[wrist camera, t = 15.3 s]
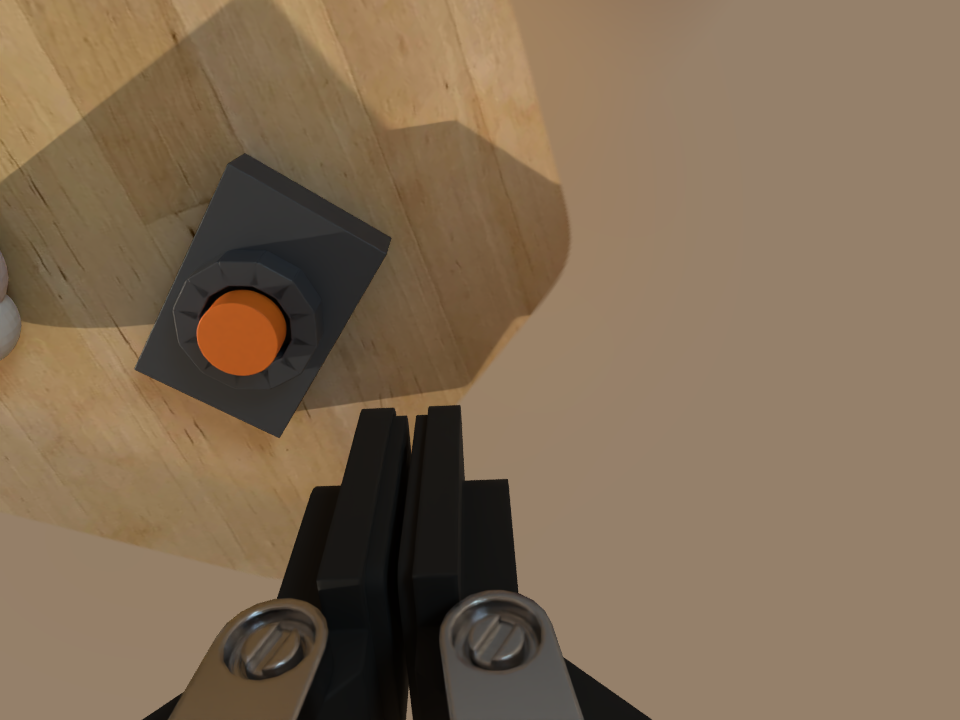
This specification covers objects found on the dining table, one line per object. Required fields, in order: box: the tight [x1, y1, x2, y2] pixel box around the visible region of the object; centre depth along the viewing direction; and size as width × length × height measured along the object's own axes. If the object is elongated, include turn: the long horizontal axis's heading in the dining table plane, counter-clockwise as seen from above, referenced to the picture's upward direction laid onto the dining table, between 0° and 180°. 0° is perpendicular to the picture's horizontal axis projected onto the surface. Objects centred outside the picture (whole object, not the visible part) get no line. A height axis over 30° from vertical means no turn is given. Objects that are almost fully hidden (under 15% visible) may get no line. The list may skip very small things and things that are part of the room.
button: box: [197, 290, 286, 376], centre depth 32 cm, size 4×4×2 cm
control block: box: [134, 153, 391, 438], centre depth 34 cm, size 12×8×4 cm, turn 148°
